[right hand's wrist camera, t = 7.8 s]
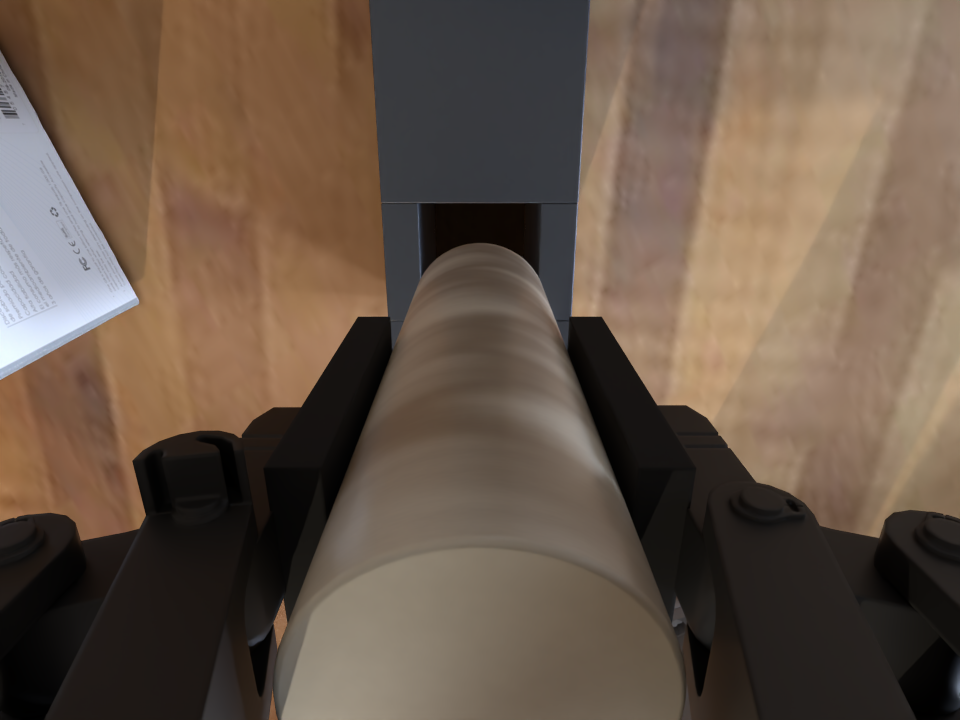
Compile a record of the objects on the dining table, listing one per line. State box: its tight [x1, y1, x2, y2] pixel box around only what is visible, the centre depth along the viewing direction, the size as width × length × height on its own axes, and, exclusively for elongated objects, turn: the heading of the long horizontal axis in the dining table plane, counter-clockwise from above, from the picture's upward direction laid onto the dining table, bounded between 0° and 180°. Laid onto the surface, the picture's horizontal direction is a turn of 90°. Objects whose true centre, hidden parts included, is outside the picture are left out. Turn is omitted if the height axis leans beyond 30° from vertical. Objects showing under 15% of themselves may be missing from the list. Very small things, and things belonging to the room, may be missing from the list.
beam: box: [369, 0, 590, 351], centre depth 26 cm, size 26×8×9 cm, turn 0°
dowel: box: [273, 243, 687, 720], centre depth 12 cm, size 4×4×14 cm
